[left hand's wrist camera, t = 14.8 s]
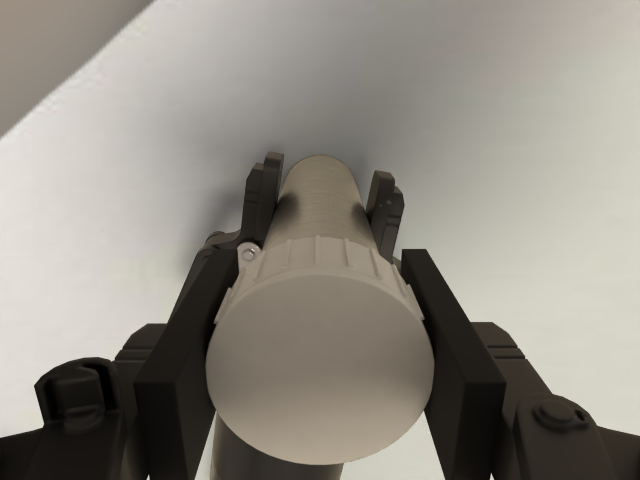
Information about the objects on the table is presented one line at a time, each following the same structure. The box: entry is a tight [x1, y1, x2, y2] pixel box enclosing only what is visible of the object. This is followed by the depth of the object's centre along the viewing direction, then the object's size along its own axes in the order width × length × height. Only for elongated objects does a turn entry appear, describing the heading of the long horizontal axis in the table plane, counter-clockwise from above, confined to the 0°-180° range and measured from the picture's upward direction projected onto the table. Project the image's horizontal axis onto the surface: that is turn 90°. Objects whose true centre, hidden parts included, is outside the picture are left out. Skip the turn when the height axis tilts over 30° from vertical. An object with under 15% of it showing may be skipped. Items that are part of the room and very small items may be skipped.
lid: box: [205, 235, 435, 465], centre depth 11 cm, size 5×5×2 cm
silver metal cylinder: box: [262, 155, 379, 254], centre depth 19 cm, size 4×4×17 cm
